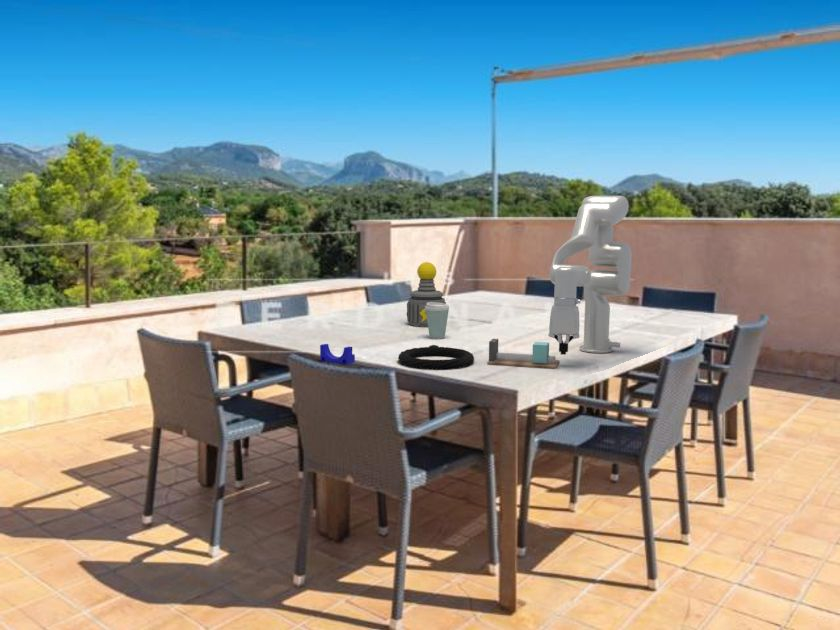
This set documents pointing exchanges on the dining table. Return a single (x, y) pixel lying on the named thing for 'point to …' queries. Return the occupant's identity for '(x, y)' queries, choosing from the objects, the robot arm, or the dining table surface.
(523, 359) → the rail
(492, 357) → the stop
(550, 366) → the board
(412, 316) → the decorative lamp
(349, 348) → the cable clip
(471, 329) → the dining table surface
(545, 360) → the slider
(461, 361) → the cable lock
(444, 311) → the disposable coffee cup
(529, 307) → the dining table surface
